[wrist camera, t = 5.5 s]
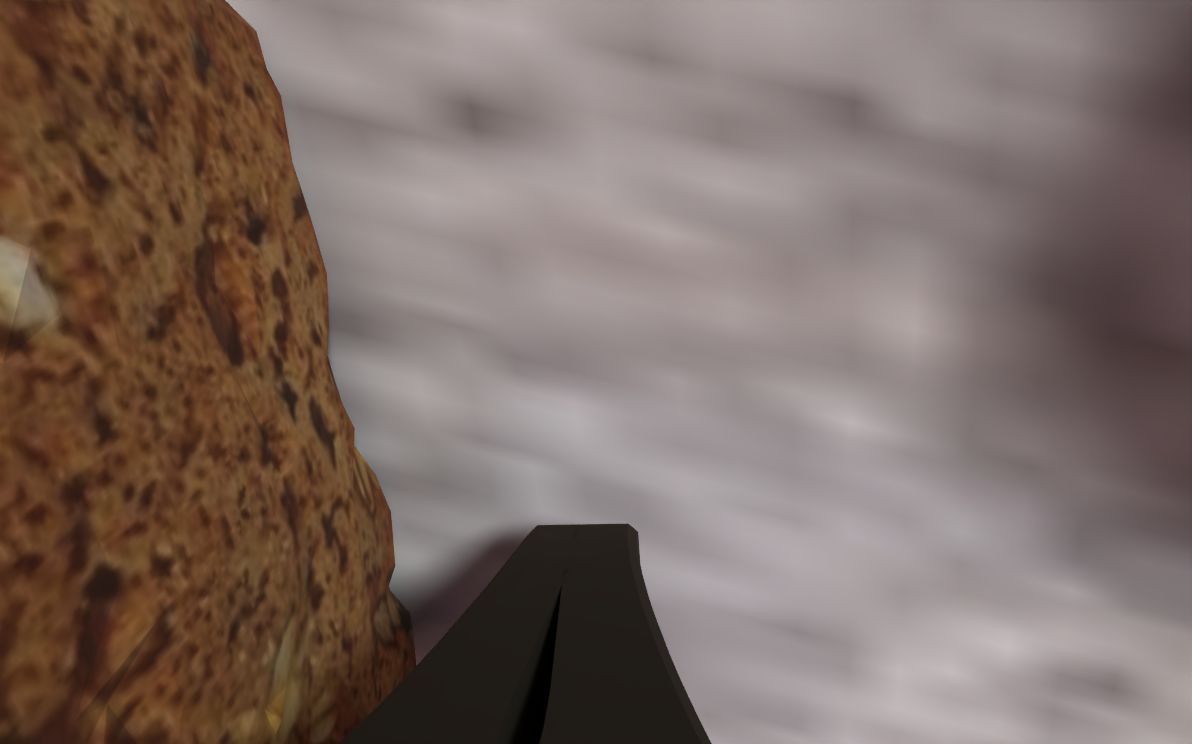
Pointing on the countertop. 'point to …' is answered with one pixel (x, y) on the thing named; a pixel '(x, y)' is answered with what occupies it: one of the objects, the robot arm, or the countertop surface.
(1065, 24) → the countertop surface
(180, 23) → the bread
